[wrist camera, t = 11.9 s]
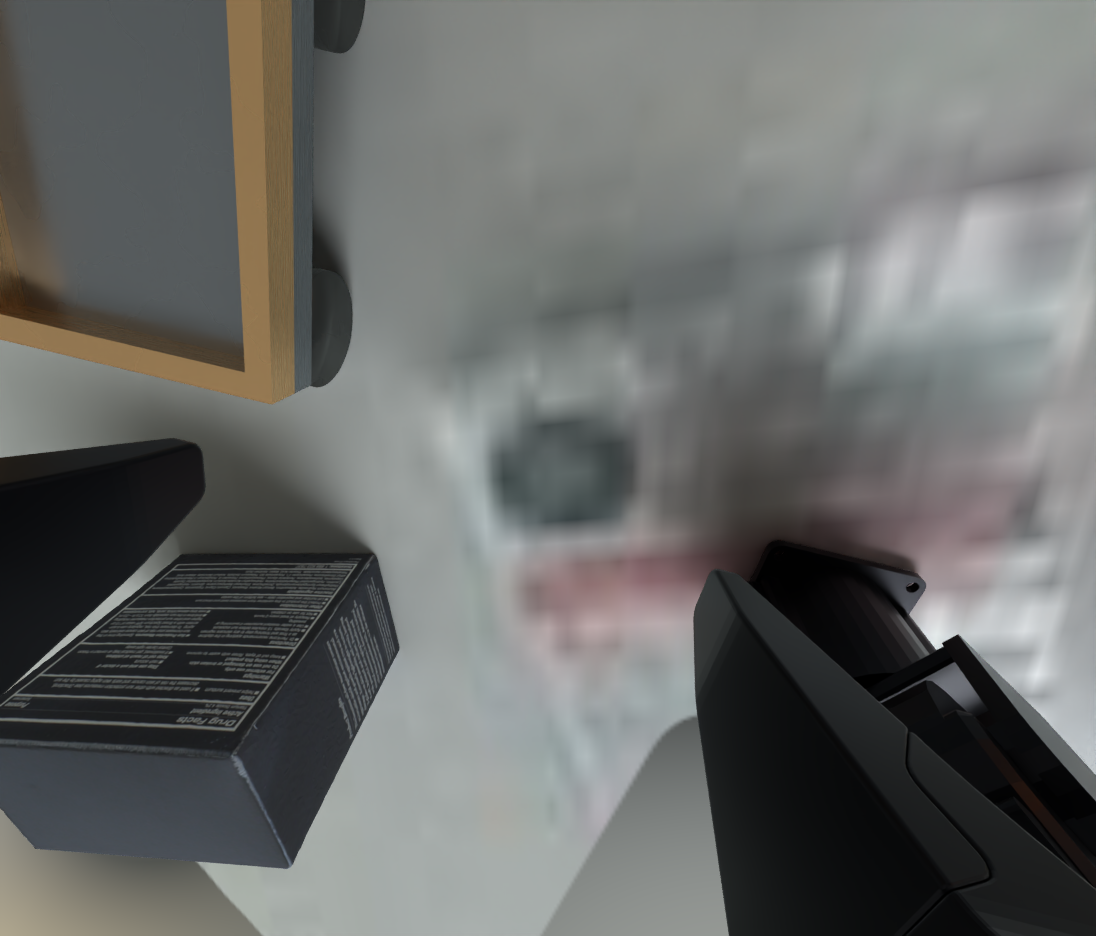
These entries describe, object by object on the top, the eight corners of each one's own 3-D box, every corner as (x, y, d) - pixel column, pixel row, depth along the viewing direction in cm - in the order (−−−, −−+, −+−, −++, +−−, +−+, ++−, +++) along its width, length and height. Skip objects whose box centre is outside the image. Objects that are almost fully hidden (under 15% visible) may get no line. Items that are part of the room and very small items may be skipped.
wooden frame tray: (379, -97, 15) (253, -274, 10) (357, 373, 21) (272, 419, 16) (58, -167, 15) (-233, -377, 10) (129, 319, 21) (-30, 347, 16)
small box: (222, 650, 28) (26, 859, 19) (178, 550, 26) (-75, 735, 16) (404, 655, 27) (291, 884, 18) (378, 549, 24) (227, 752, 15)
